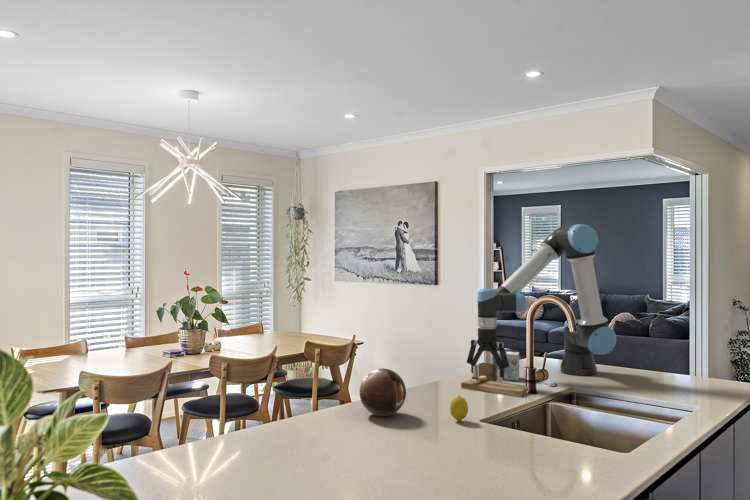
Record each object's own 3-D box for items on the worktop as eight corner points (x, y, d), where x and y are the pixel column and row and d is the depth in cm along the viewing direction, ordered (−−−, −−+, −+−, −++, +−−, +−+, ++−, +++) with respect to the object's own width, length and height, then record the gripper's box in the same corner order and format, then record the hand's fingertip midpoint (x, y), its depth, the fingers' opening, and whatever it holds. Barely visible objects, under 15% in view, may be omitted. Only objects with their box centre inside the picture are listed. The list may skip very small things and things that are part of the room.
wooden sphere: (352, 412, 194) (351, 367, 194) (391, 407, 201) (391, 363, 201) (372, 424, 180) (372, 375, 180) (414, 418, 187) (414, 370, 187)
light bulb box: (492, 379, 244) (492, 353, 244) (493, 375, 251) (493, 350, 251) (518, 380, 241) (518, 354, 241) (519, 377, 248) (519, 351, 248)
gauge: (483, 382, 239) (482, 362, 239) (496, 384, 235) (496, 364, 235) (466, 388, 228) (465, 367, 228) (480, 390, 224) (480, 369, 224)
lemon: (467, 424, 180) (467, 398, 180) (449, 423, 181) (449, 397, 181) (468, 419, 186) (468, 393, 186) (450, 418, 187) (450, 393, 187)
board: (473, 383, 236) (473, 378, 236) (530, 391, 222) (530, 386, 222) (461, 387, 228) (461, 382, 228) (519, 397, 214) (519, 391, 214)
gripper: (457, 326, 239) (458, 381, 239) (509, 330, 225) (509, 389, 225) (466, 324, 245) (467, 378, 245) (517, 328, 231) (518, 385, 231)
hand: (487, 383), depth 235 cm, fingers open, 10 cm apart
